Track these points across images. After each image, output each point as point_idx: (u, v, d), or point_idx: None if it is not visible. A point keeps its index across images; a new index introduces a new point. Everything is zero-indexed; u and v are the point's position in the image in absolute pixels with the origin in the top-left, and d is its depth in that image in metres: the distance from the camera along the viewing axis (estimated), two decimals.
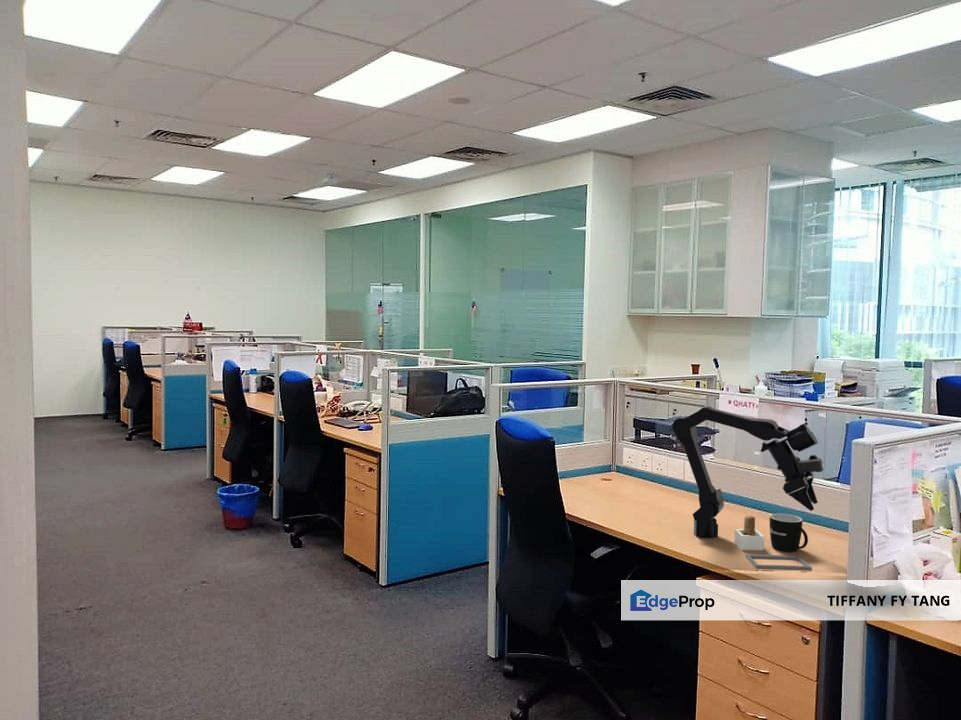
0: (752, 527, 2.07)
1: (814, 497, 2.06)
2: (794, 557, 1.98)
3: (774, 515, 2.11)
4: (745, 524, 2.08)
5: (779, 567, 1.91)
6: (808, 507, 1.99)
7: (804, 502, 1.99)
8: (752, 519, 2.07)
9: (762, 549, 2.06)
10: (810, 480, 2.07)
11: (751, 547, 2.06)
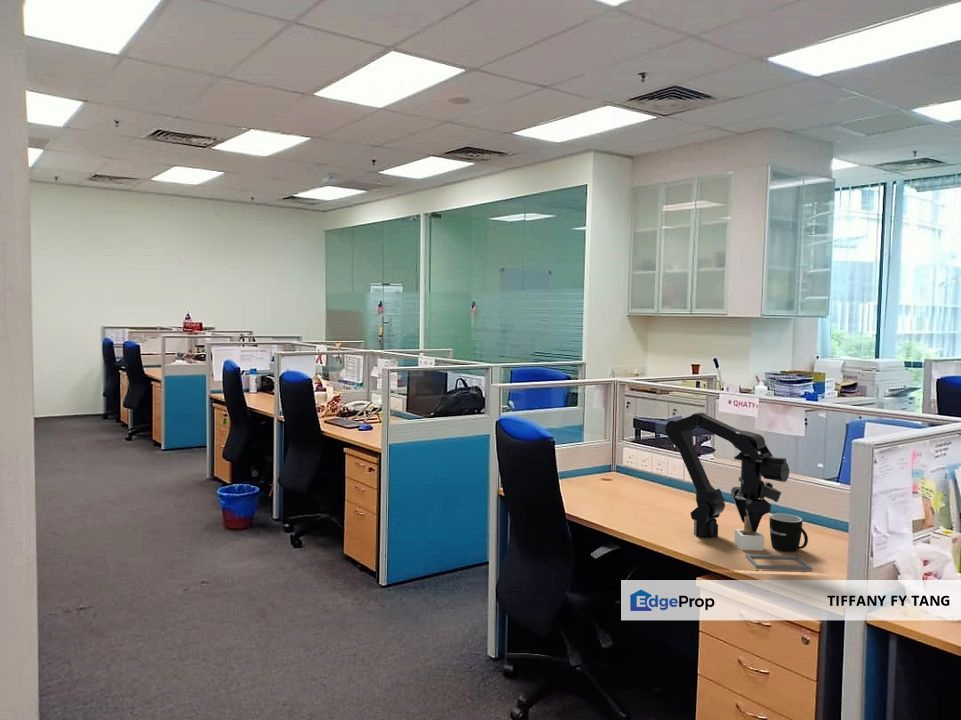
0: None
1: None
2: (794, 557, 1.98)
3: (774, 515, 2.11)
4: (745, 524, 2.08)
5: (779, 567, 1.91)
6: (753, 528, 2.04)
7: (753, 522, 2.03)
8: None
9: (762, 549, 2.06)
10: None
11: (751, 547, 2.06)
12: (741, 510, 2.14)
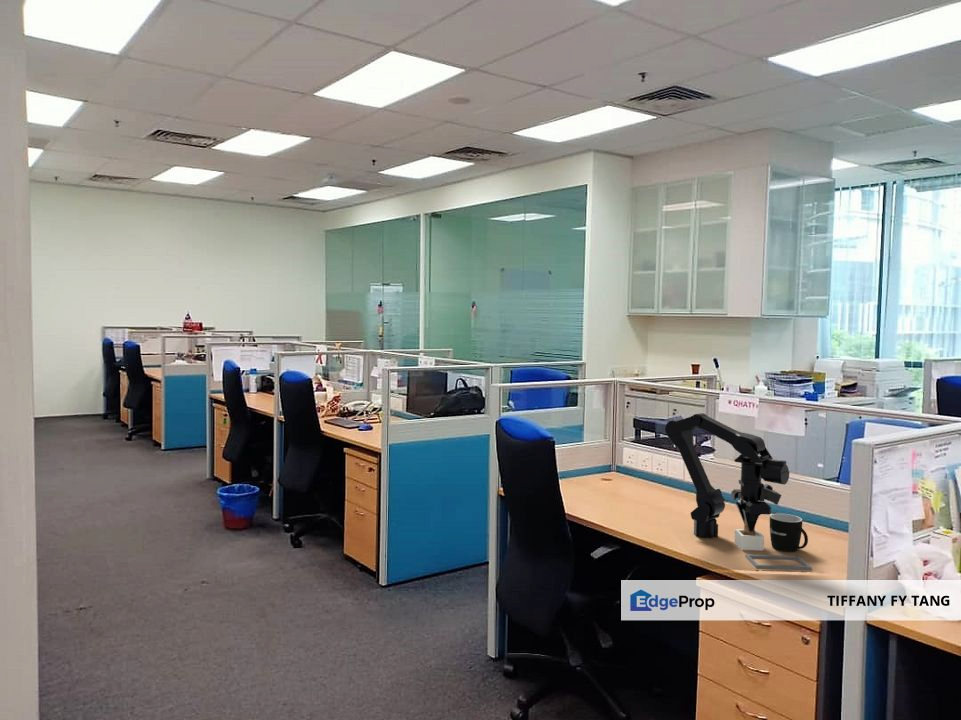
0: None
1: None
2: (794, 557, 1.98)
3: (774, 515, 2.11)
4: (745, 524, 2.08)
5: (779, 567, 1.91)
6: (750, 527, 2.07)
7: (750, 522, 2.06)
8: None
9: (762, 549, 2.06)
10: None
11: (751, 547, 2.06)
12: None
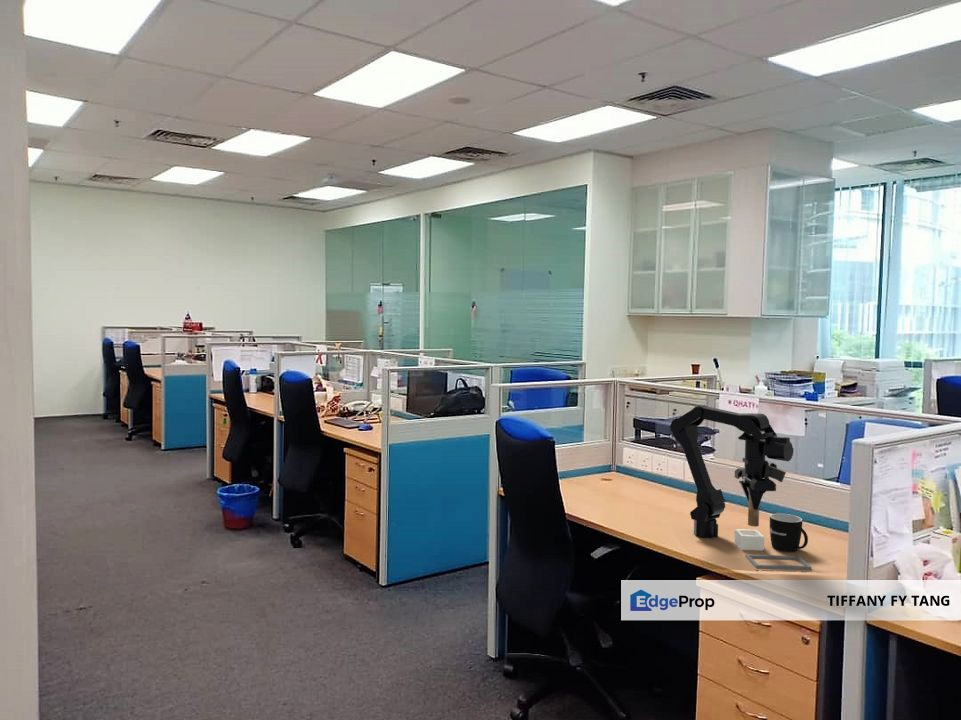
0: None
1: None
2: (794, 557, 1.98)
3: (774, 515, 2.11)
4: (749, 502, 2.06)
5: (779, 567, 1.91)
6: (754, 505, 2.04)
7: (755, 500, 2.04)
8: None
9: (762, 549, 2.06)
10: None
11: (751, 547, 2.06)
12: (748, 493, 2.08)
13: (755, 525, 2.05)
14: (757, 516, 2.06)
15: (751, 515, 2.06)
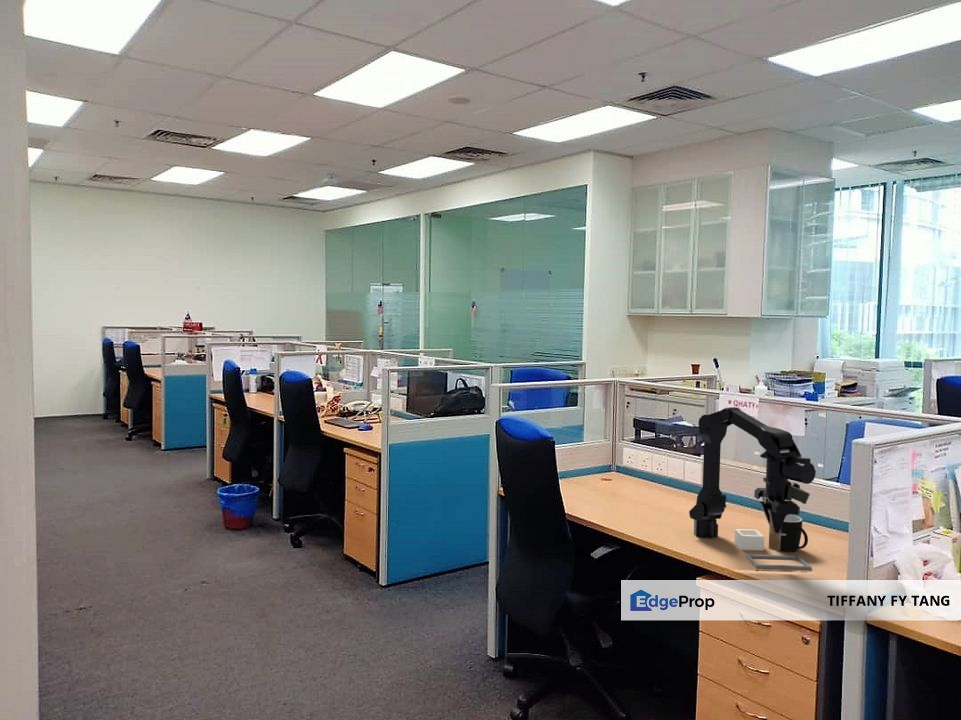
0: None
1: None
2: (794, 557, 1.98)
3: None
4: (771, 525, 1.94)
5: (779, 567, 1.91)
6: (776, 529, 1.93)
7: (776, 523, 1.92)
8: None
9: (762, 549, 2.06)
10: None
11: (751, 547, 2.06)
12: (769, 515, 1.96)
13: (776, 549, 1.94)
14: (779, 539, 1.94)
15: (772, 538, 1.94)
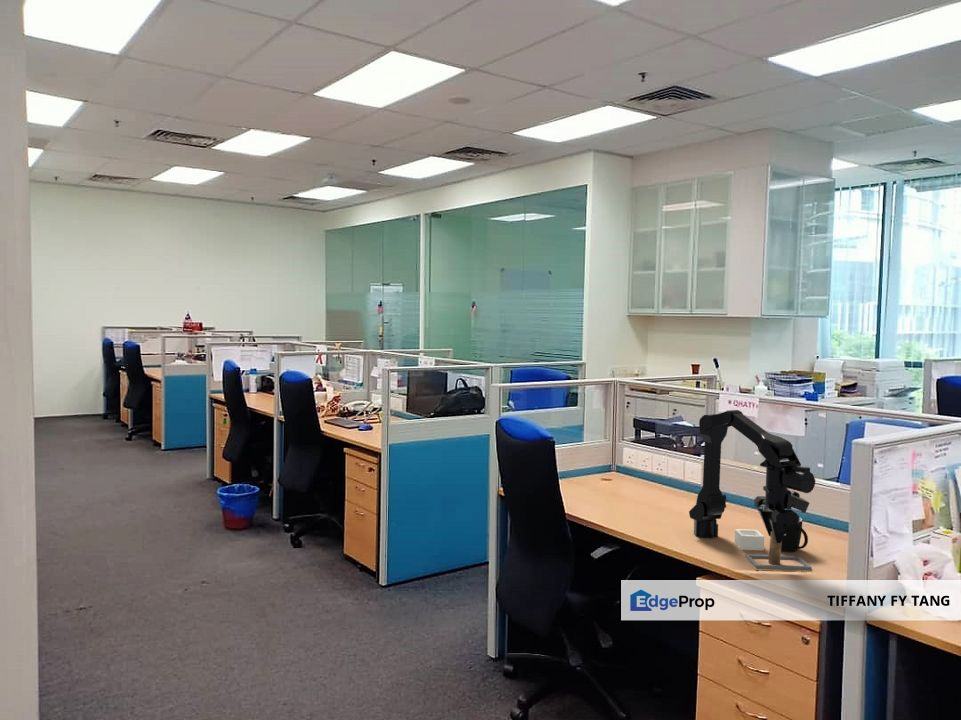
0: (779, 543, 1.93)
1: (773, 530, 1.97)
2: (794, 557, 1.98)
3: None
4: (771, 540, 1.94)
5: (779, 567, 1.91)
6: (777, 539, 1.91)
7: (778, 533, 1.91)
8: None
9: (762, 549, 2.06)
10: None
11: (751, 547, 2.06)
12: (767, 522, 1.98)
13: (776, 564, 1.94)
14: (779, 555, 1.94)
15: (772, 553, 1.94)
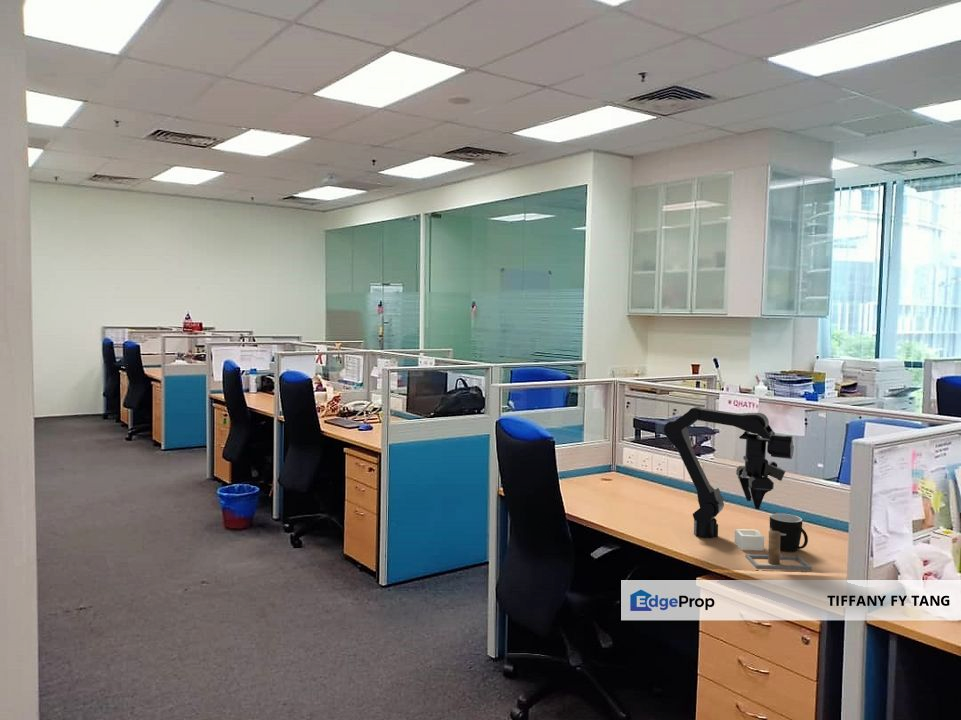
0: (777, 543, 1.93)
1: (750, 495, 2.16)
2: (794, 557, 1.98)
3: (774, 515, 2.11)
4: (770, 540, 1.94)
5: (779, 567, 1.91)
6: (756, 505, 2.06)
7: (756, 500, 2.06)
8: (777, 534, 1.93)
9: (762, 549, 2.06)
10: None
11: (751, 547, 2.06)
12: (745, 488, 2.16)
13: (776, 564, 1.94)
14: (778, 554, 1.94)
15: (771, 553, 1.94)
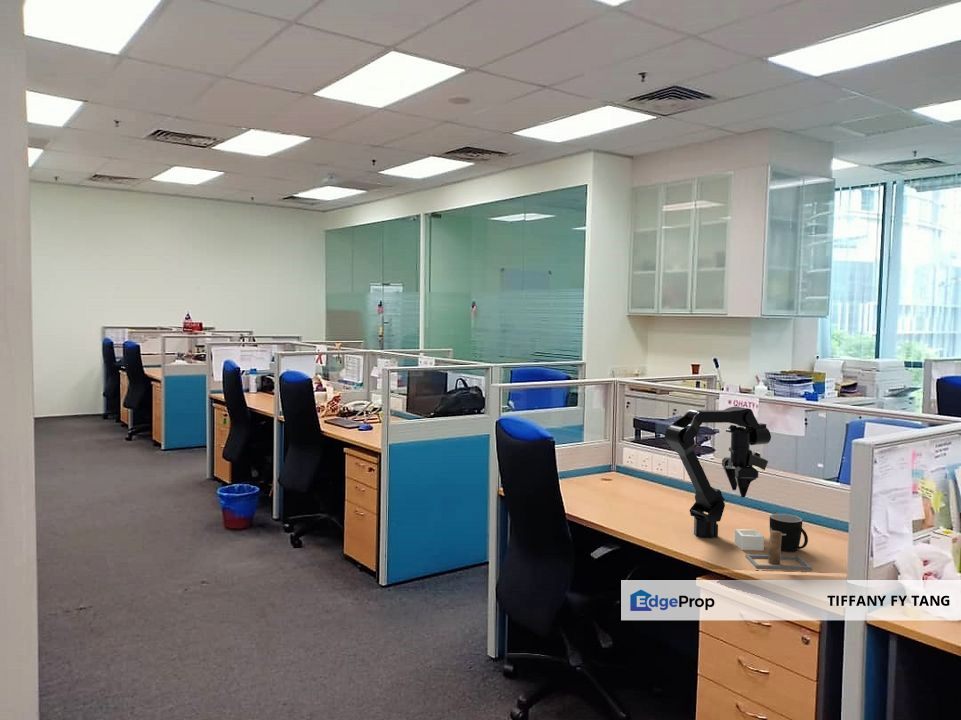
0: (779, 543, 1.93)
1: (736, 485, 2.29)
2: (794, 557, 1.98)
3: (774, 515, 2.11)
4: (771, 539, 1.94)
5: (779, 567, 1.91)
6: (742, 494, 2.19)
7: (742, 489, 2.19)
8: (779, 534, 1.93)
9: (762, 549, 2.06)
10: None
11: (751, 547, 2.06)
12: (731, 478, 2.29)
13: (776, 564, 1.94)
14: (779, 554, 1.94)
15: (772, 553, 1.94)
